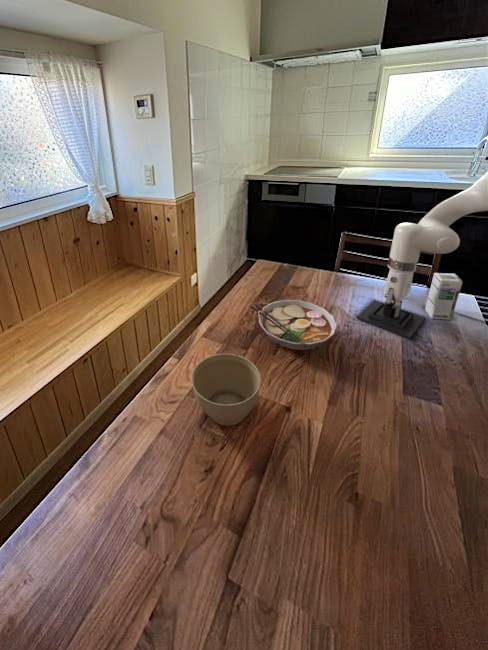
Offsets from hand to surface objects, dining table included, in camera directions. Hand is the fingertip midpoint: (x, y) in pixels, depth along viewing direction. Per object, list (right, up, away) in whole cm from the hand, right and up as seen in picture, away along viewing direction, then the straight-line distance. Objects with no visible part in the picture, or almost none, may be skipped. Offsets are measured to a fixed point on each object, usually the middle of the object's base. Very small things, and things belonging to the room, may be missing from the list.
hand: (391, 312), depth 110 cm
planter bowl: (-57, -20, -27) cm, 67 cm away
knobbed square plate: (0, -2, +1) cm, 2 cm away
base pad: (0, -2, +1) cm, 3 cm away
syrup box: (+16, -1, +2) cm, 17 cm away
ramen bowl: (-33, -8, -5) cm, 35 cm away
